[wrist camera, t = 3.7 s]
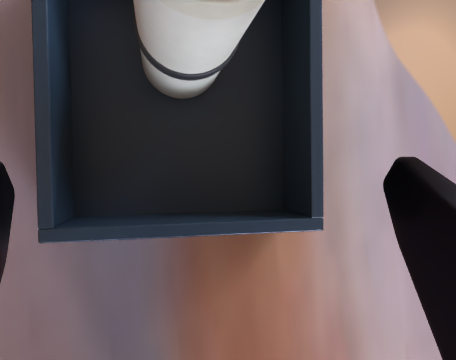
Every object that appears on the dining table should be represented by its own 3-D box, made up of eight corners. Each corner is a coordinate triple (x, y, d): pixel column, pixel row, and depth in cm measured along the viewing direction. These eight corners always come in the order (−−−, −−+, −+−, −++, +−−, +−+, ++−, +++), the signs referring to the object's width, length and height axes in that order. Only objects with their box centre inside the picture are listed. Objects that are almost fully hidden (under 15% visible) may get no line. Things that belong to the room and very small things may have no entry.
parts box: (290, 218, 22) (323, 230, 18) (64, 227, 20) (38, 243, 16) (287, -16, 22) (321, -64, 17) (57, -32, 20) (28, -92, 15)
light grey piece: (196, 115, 21) (249, 43, 9) (125, 73, 20) (77, -67, 8) (234, 47, 21) (335, -112, 9) (165, 4, 20) (175, -232, 8)
